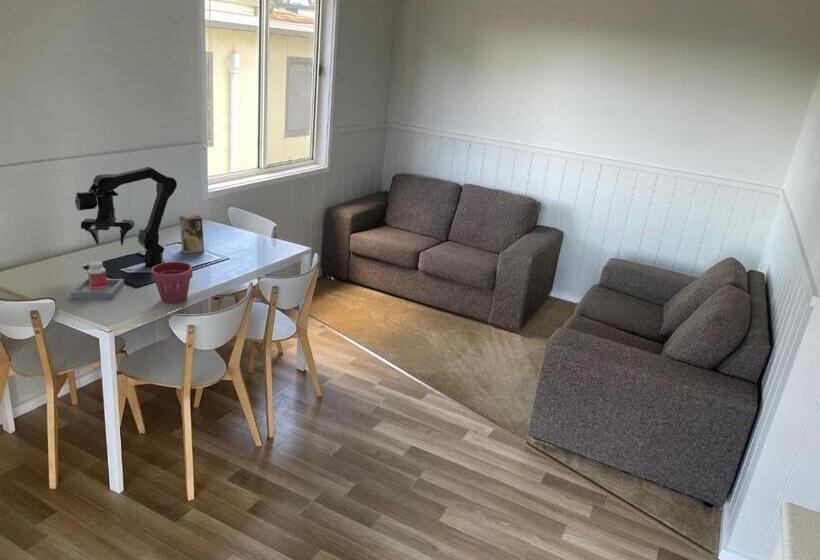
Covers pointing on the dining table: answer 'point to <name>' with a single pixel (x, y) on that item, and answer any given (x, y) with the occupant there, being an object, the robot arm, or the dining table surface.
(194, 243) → the coffee box
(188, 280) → the plant pot
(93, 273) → the pill bottle
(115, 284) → the tray
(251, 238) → the dining table surface
